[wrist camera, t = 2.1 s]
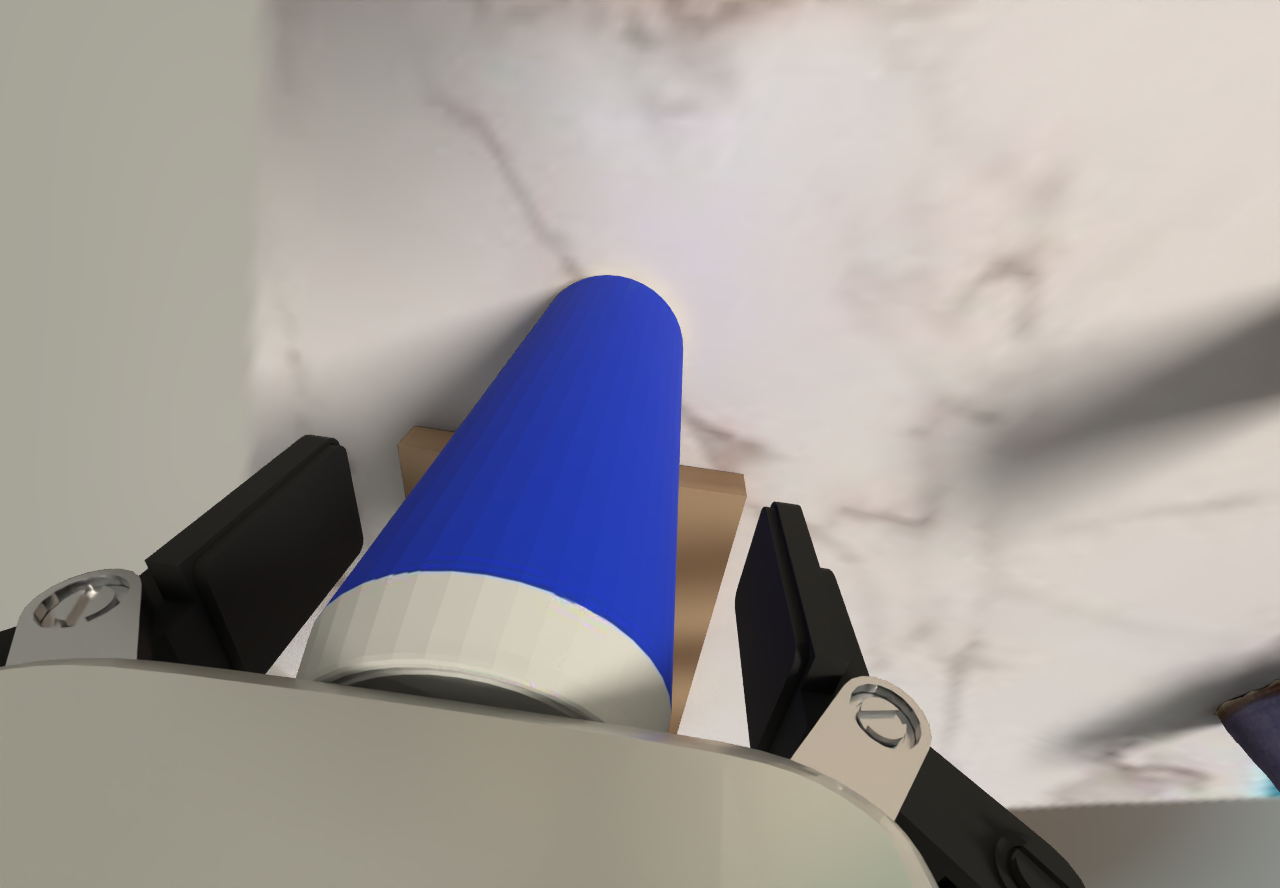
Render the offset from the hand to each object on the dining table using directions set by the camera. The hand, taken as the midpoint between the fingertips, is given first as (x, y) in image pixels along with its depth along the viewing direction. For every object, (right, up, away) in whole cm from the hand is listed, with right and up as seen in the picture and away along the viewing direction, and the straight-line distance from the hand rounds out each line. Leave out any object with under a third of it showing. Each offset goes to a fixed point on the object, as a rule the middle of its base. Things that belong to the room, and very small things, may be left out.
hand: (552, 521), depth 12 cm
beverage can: (+1, +6, +8) cm, 10 cm away
